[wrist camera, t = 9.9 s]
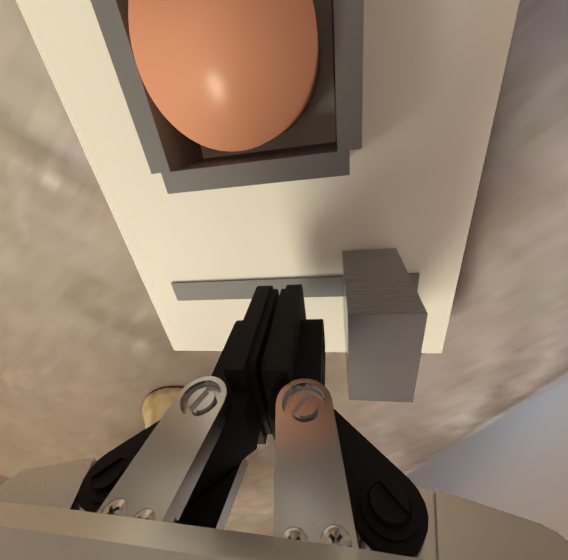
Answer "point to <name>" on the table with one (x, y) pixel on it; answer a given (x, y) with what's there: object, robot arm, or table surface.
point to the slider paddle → (381, 326)
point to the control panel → (293, 160)
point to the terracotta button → (227, 66)
